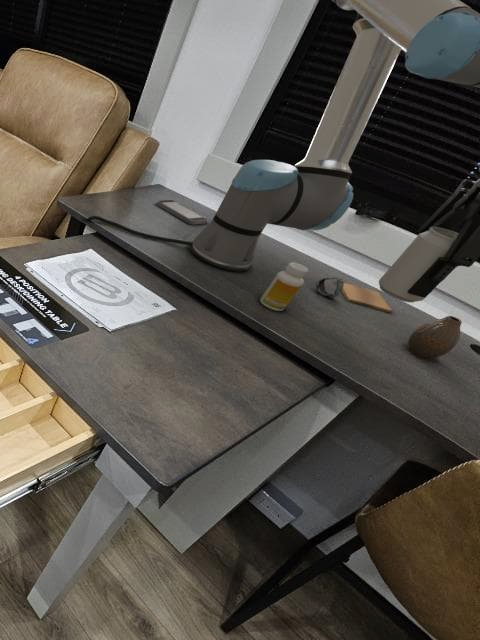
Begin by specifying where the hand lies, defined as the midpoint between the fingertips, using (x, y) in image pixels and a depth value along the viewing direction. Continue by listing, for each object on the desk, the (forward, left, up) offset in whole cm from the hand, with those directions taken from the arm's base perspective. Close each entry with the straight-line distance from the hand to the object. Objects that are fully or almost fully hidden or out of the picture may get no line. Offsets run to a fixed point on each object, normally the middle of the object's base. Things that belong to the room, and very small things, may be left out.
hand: (407, 284), depth 84 cm
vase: (+17, +7, -15) cm, 24 cm away
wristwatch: (+1, +25, -15) cm, 29 cm away
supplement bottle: (-14, +10, -15) cm, 23 cm away
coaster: (+12, +30, -15) cm, 36 cm away
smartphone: (-33, +57, -15) cm, 67 cm away
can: (0, 0, -2) cm, 2 cm away
